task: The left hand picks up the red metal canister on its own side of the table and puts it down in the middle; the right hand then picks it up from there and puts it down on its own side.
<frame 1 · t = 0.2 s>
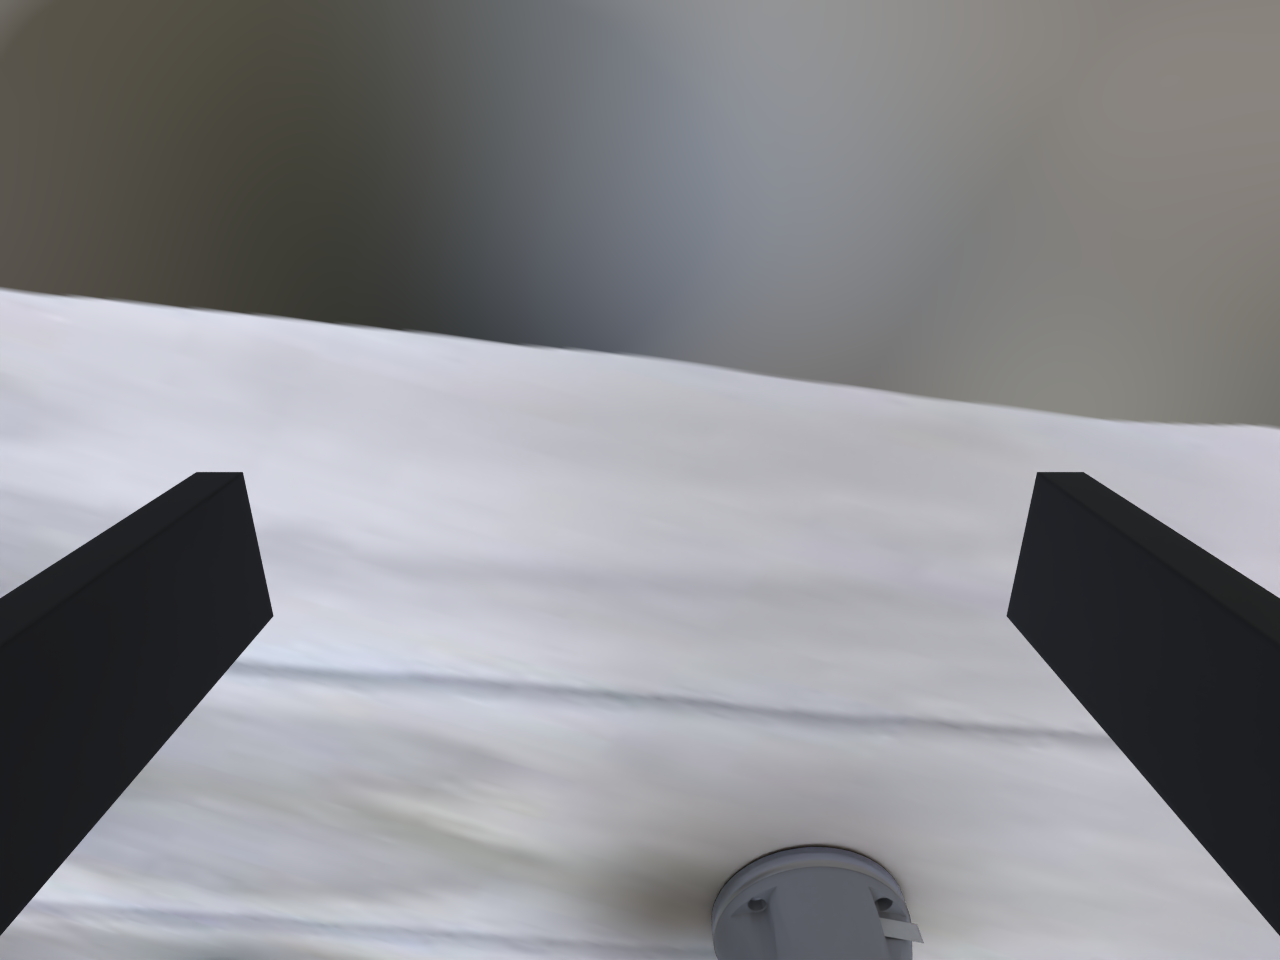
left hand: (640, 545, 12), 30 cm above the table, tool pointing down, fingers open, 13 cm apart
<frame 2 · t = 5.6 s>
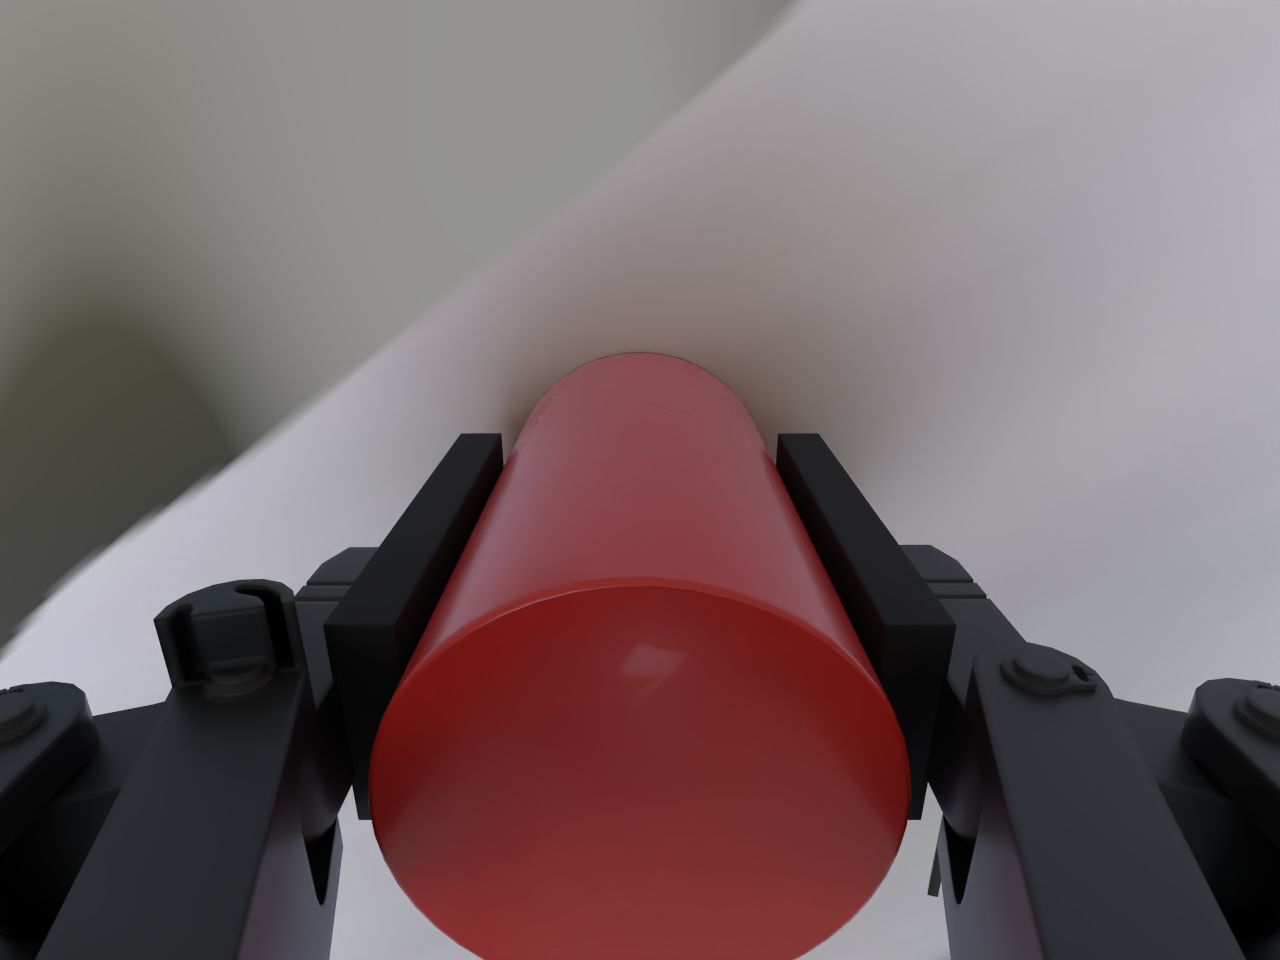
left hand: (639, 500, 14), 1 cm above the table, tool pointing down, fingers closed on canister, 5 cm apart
canister: (639, 474, 16), on the table, touching left hand
when the left hand's fingers open (3 cm above the table, at t = 15.4 s): canister drops 2 cm, on the table.
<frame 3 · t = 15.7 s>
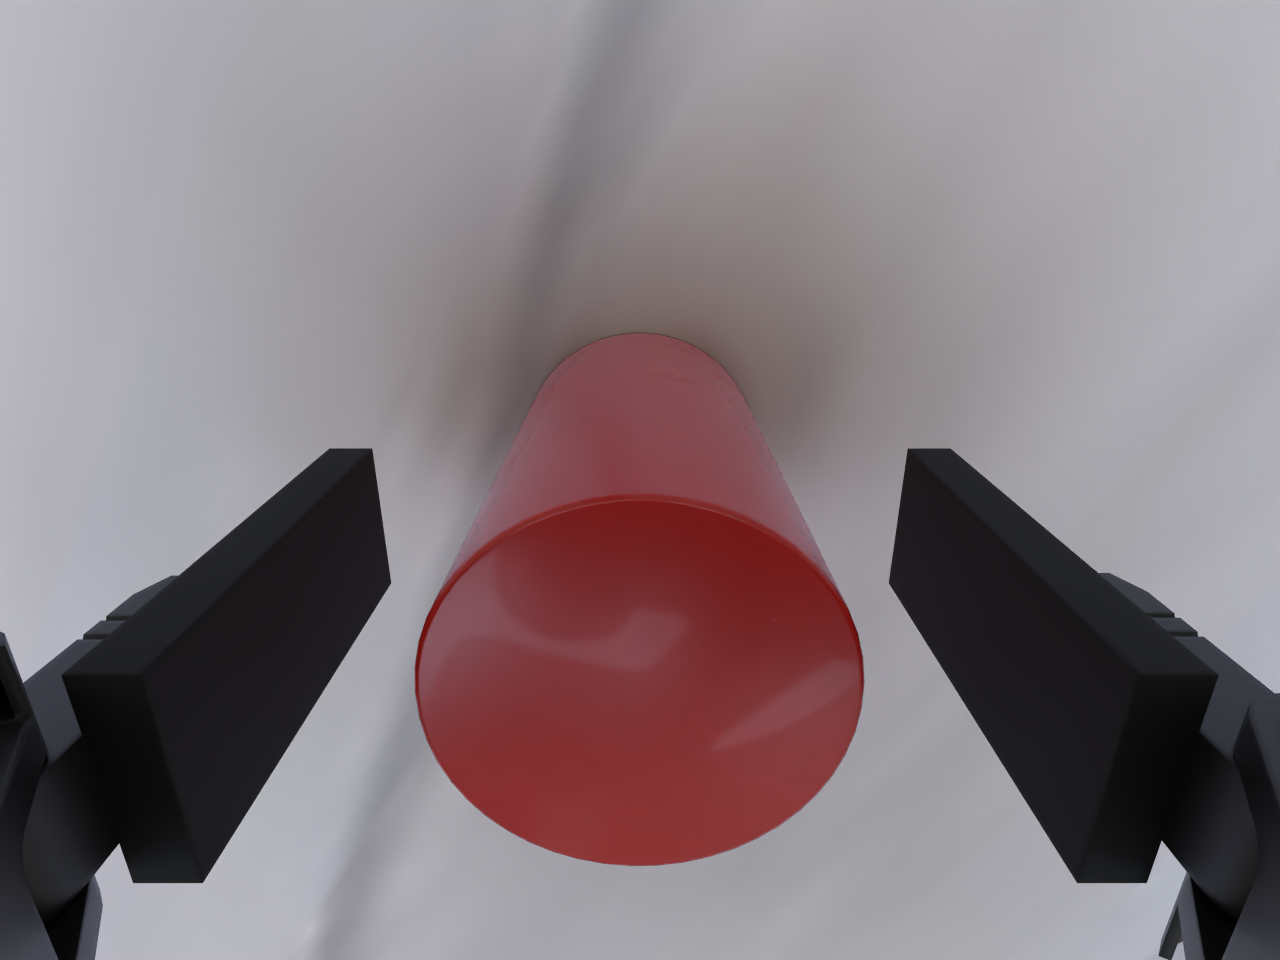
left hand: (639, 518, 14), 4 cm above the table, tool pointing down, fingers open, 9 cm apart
canister: (639, 445, 17), on the table
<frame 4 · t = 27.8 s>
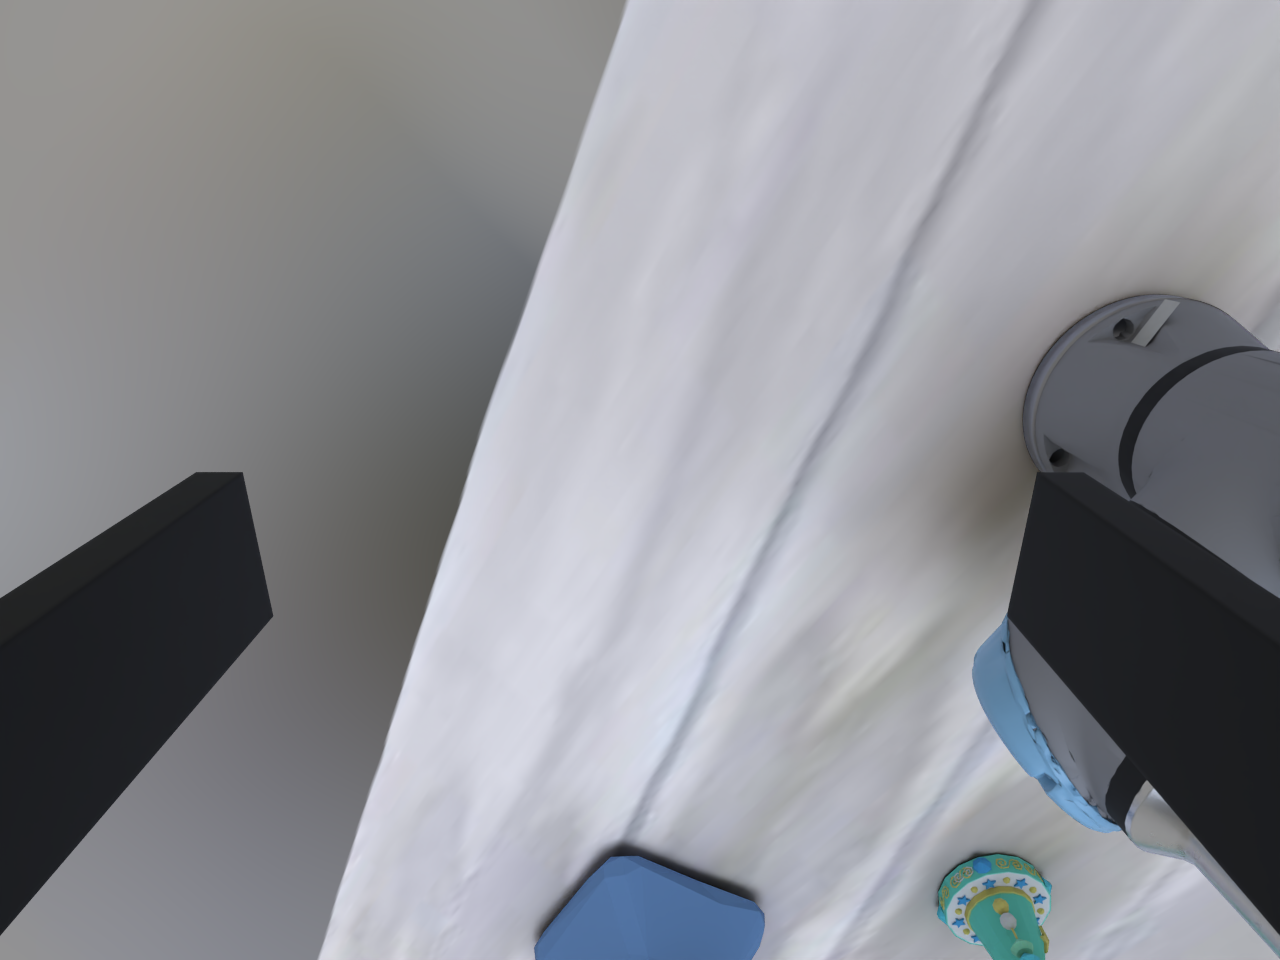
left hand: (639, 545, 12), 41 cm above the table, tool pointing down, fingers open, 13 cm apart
figurine: (657, 929, 74), on the table
decorative hourglass: (988, 889, 72), on the table
when the right hand's fingers open (3 cm above the table, at t = 39.4 s): canister drops 2 cm, on the table.
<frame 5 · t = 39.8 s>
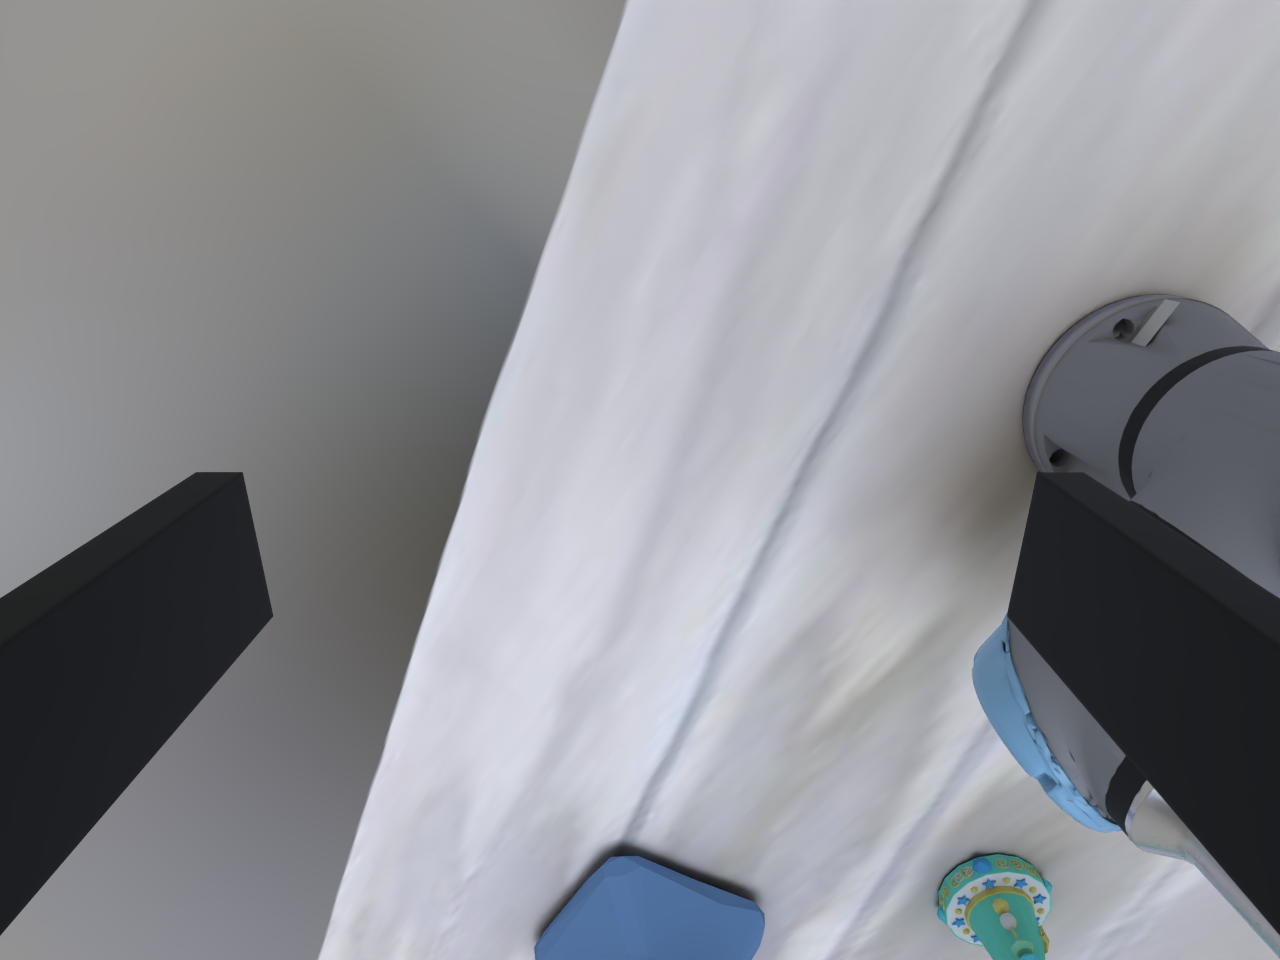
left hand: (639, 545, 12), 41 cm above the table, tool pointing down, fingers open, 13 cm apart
figurine: (657, 929, 74), on the table
decorative hourglass: (988, 889, 72), on the table
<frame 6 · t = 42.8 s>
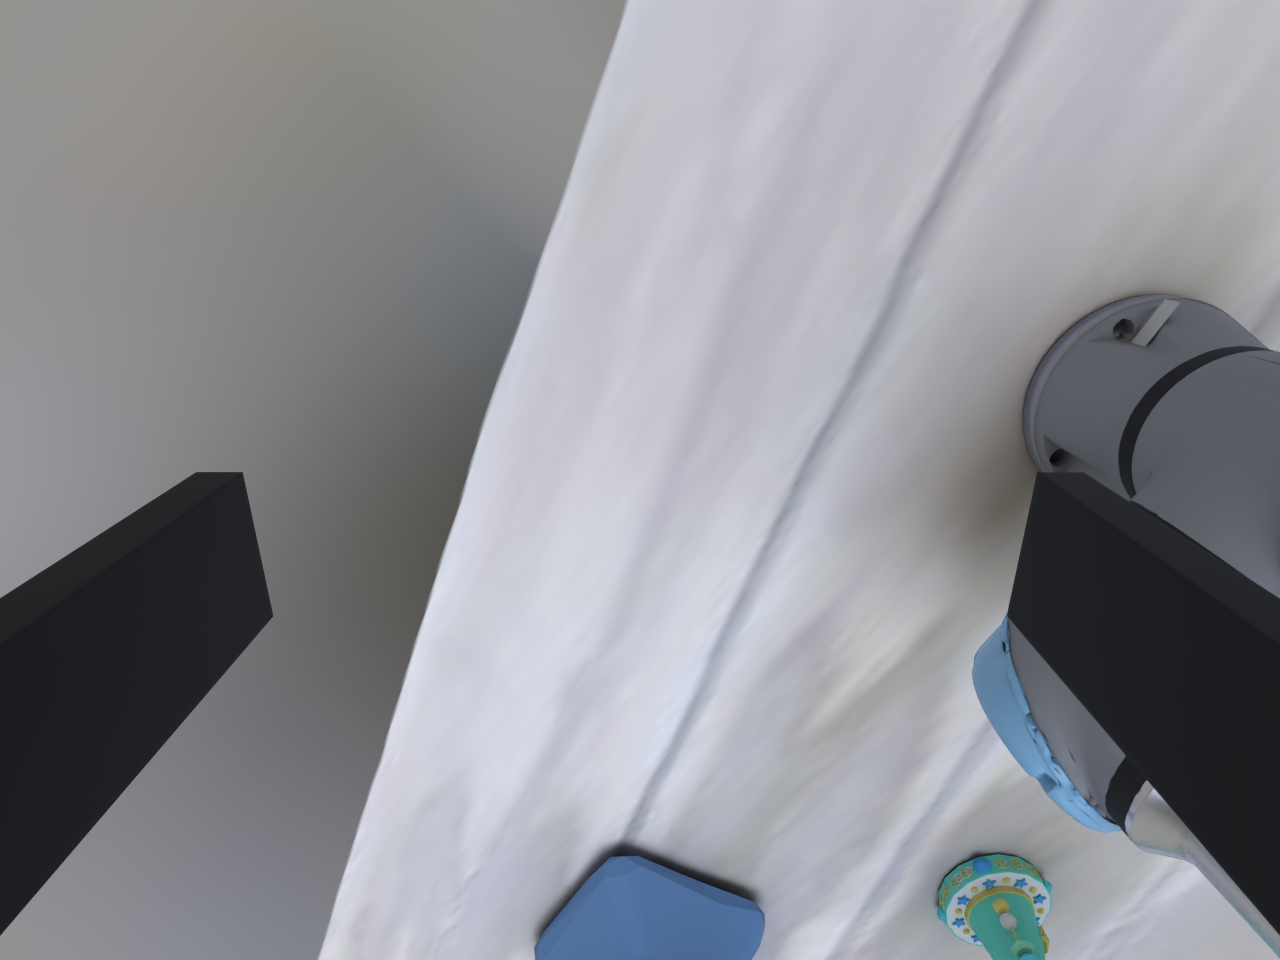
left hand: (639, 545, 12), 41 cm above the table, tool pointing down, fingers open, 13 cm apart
figurine: (657, 929, 74), on the table
decorative hourglass: (988, 889, 72), on the table
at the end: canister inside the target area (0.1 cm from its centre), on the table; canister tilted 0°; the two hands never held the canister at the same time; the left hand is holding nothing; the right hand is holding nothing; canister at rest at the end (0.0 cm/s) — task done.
